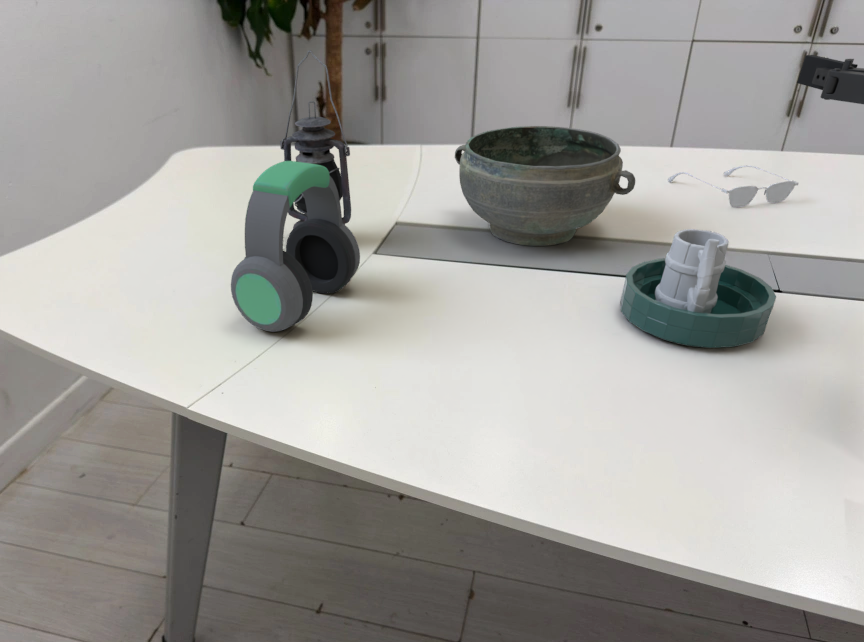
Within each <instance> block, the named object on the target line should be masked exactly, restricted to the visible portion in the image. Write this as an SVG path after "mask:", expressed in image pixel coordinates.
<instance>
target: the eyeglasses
mask: <svg viewBox="0 0 864 642" xmlns="http://www.w3.org/2000/svg"><path fill="white" fill-rule="evenodd" d="M742 168H753V169H756V170H760V171H763V172H766V173H769V174H771V175H774V176H776V177H778V178H781V179H784V180H785V181H779V182H775V183H772V184H769V185H768V186H766V187H764V186H762V187H758V186H756V185H743V186H736V187H733V188H731V189H725V188H720V187H718V186H716V185H713V184H712V183H711V184H710V183H709V182H706V181H704V180H702V179H700V178H698V177H696V176H694V175H693V174H691V173H689V172H686V171H682V172H677V173H675V174H673V175H671V176H670V177H668V179H667V181H668V182H669V183H672V182H673V181H674V180H675V178H676V177H678V176H679V175H688V176H690V177H691V178H695V179H697V180H699V181H701V182H703V183H705V184H706V185H709V186H711V187H714V188H715V189H719V190H720V191H721V192H722V193H724V194H728V202H729V205H730V207H731V208H742V207H746V206H747V205H749V204H750V203H751V202H752V201H753V200H754V198H755V196H756V195H757V194H758V192H759V190H763V189H764V191H763V196H765V198H766V201H767V203H770V204H778V203H780V202H783V201H785V200H786V199H787V198H788V197H789V196H790V194H791V193H793V192H792V191H793V190H794V188H795V187H796V186H799V182H798V181H796V180H790V179H787V178H785V177H783V176H780V175H778V174H775V173H773V172H770V171H767V170H765V169H763V168H761V167H757V166H755V165H748V164H747V165H746V164H745V165H739V166H735V167H733V168H729V169H728V170H725V171H724V172H723V175H724V176H727V177H728V176H731V175H732V173H734V172H735V171H737V170H738V169H742ZM728 171H729V172H728Z"/></svg>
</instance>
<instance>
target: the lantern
mask: <svg viewBox="0 0 864 642" xmlns="http://www.w3.org/2000/svg"><path fill="white" fill-rule="evenodd" d="M309 54H311V56H312V57H313V58H314V59H315V60H316V61H317V62H318V63H319V64H321V65H322V66H323V67H324V68H325V73H326V80H327V86H328V93H329V99H330V102H331V106H332V107H333V111H334V112H335V115H336V118H337V122H338V125H339V127H340V132H341V135H342V139H343V142H342V141H341V140H338V139H334V137H335V136H336V133H335V131H334V130H331V129H329V128H325V127H326V126H329V125H331V122H332V121H331V120H330V119H328V118H327V117H322V116H317V111H316V101H314V100H311V101H308V102H307V108H308V116H306V117H303V118H300V119H298V120H297V121H295V122H294V125H295V126H296V127H300V128H301V129H299V130H297V131H295V132H293V133H292V134H291V136H288V134H289V133H288V132H289V128H290V127H289V125H290V122H291V121H290V120H291V114H292V111H293V108H294V105H295V99H296V92H297V84H298V77H299V69H300V66H301V65H302V64H303V62H305V60H306V59H307V58H308V57H309ZM294 82H295V83H294V87H293V88H294V89H293V95H292V103H291V106H290V109H289V113H288V118H287V124H286V130H285V135H284V137H283V138H282V139H281V140H280V143H279V145H280V150H283V161H292V143H294V149H295V150H296V151H298V152H299V154H297V155H296V156H295V161H296V162H303V163H310V164H317V165H321V166H324V167H326V168H327V169H328V171H329V175H330V176H331V178H332V179H333V181H334V183H335V185H336V187H337V190H338V194H339V199H340V201H341V200H342V207H343V217H342V223H343V224H344V225H345V226H346V224H348V223H349V222H350V220H351V218H352V202H351V201H352V200H351V191H350V180H349V170H348V168H349V167H348V159H347V158H348V157H350V156H351V151H350V150H351V149H350V146H348V143H347V139H346V136H345V133H344V130H343V126H342V124H341V123H342V122H341V119H340V117H339V114H338V111H337V108H336V106H335V103H334V101H333V96H332V90H331V83H330V75H329V69H328V65H326V64H325V63H324V62H323V61H322V60H320V59H319V58H318V57H317V56H316V55H315V53H314V52H313V50H312V49H311V50H310V49H309V50H307V52H306V54H305V56H304V57H303V58H302V59H301V60H300V62H299V63H298V64H297V66H296V74H295V81H294ZM310 104H313V111H314V116H311V108H310V106H311V105H310ZM333 148H336V149H337V150H338V156H339V167H338V166H337V163H336V160H335V154H333V153H332V152H331V150H332V149H333ZM295 207H296V209H295ZM287 215H288V216H290V217H292V218H294V219H297V220H298V221H296V222H295V223H294V224H293V226H292V229H293V228H294V227H296V226H297V225H298V224H300V223H302V222H304V221H306V220H308V216H307V208H306V203H305V198H304V195H303V193H301V194H300V195H299V196H298V197H297V199H296V200H295V201H294V202H293V204H292V206H291V207H290V208H289V210H288V213H287Z"/></svg>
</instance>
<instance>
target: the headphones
mask: <svg viewBox="0 0 864 642" xmlns="http://www.w3.org/2000/svg"><path fill="white" fill-rule="evenodd" d="M301 193H303V195H304V198H305V203H306V208H307V216H308V220H306V221H304V222H302V223H300V224H298V225H297V226H296V227H294V228H293V227H292V229H291V231H290V232H289V234H288V237H287V240H286V243H285V250H284V234H285V233H284V232H285V226H286V220H287V216H288V210H289V208H290V207H291V206H292V204H293V203H295V202H294V201H295V200H296V199H297V197H298V196H299V195H300V194H301ZM246 207H247V208H246V212H245V219H244V252H245V257H244V258H243V259H242V260H241V261H240V262H238V264H237V265H236V266H235V268H234V269H233V272H232V274H231V279H230V292H231V293H230V294H231V297H232V299H233V303H234V305H235V307H236V309H237V310H238V311H239V313H240V314H241V316H242V317H243V318H244V319H245V320H246V321H247V322H248V323H250V324H251V325H253V326H254V327H256V328H257V329H260V330H262V331H266V332H272V333H274V332H275V333H276V332H281V331H284V330H286V329H288V328H290V327H293V326H295V325H297V324H299V323H300V322H301V321H302V320H304V319H305V318H306V317H307V316H308V315H309V312H310V310H311V308H312V304H313V298H314V297H313V295H314V293H317V294H325V295H326V294H334V293H336V292H339V291H340V290H342V289H343V288H345V286H347V285H348V283H349V282H351V280H352V278H353V277H354V276H355V275H356V273H357V271H358V269H359V266H360V263H361V262H360V261H361V252H360V247H359V243H358V240H357V238H356V236H355V234H353V232H352V231H351V229H350V228H349V227H348V226H347V225H346V224H345V225H344V224H343V223H342V216H343V215H342V206H341V200H340V199H339V194H338V190H337V187H336V185H335V183H334V181H333V179H332V178H331V176H330V175H329V171H328V169H327V168H326V167H324V166H321V165H317V164H310V163H303V162H296V160H291V161H284V160H283V161H279V162H278V163H275V164H273V165H272V166H269V167H268V168H266V169H265V170H264V171H263V172H261V173H260V175H259V176H258V177H257V178H256V179H255V181H254V183H253V185H252V193H251V194H250V197H249V200H248V204H247V206H246ZM313 292H314V293H313Z"/></svg>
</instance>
